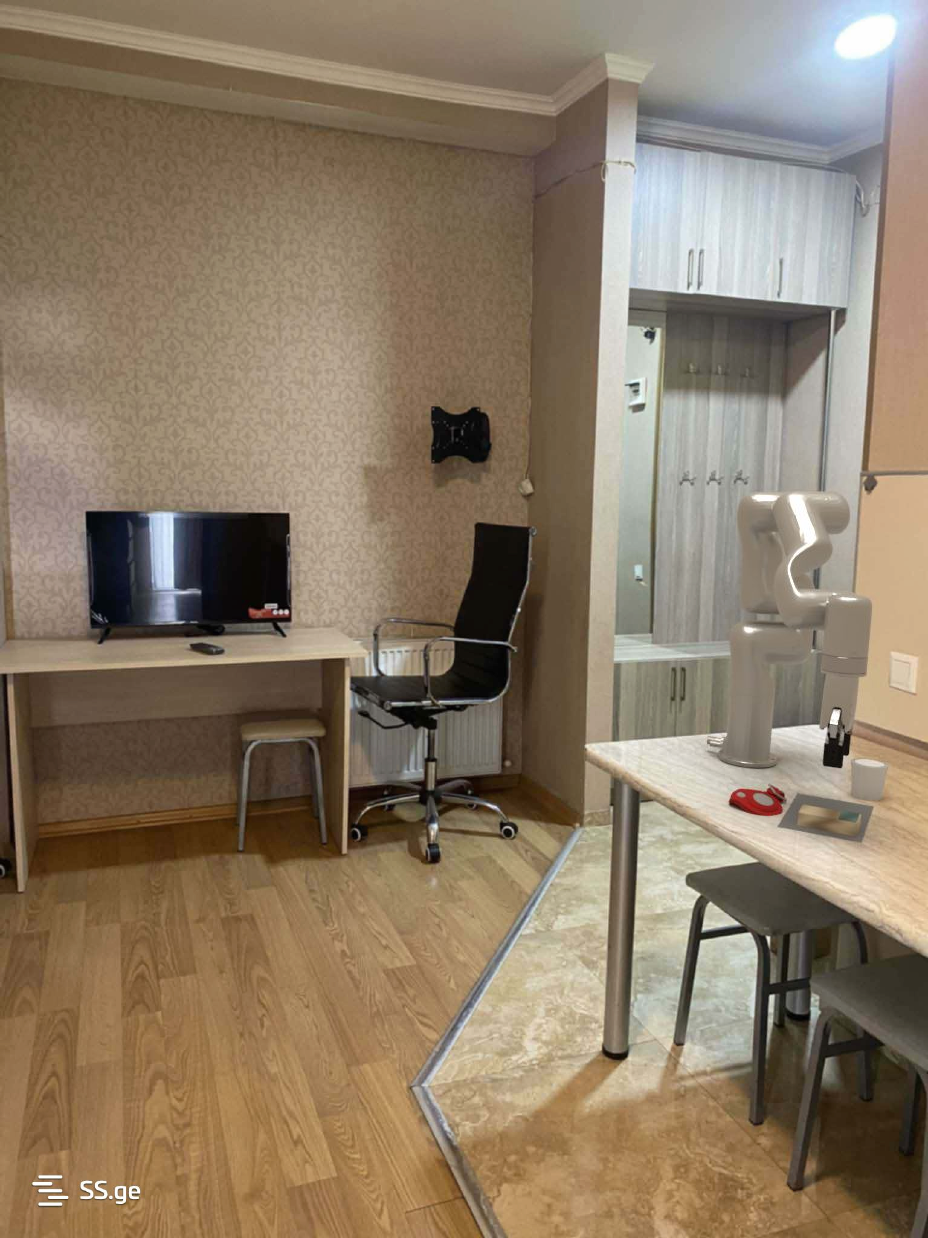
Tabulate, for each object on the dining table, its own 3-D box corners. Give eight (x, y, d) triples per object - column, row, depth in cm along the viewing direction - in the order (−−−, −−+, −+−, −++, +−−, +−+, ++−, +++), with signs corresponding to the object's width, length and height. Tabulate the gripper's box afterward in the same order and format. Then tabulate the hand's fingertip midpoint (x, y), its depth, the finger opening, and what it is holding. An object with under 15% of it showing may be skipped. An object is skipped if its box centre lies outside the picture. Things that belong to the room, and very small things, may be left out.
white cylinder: (881, 804, 187) (885, 769, 186) (844, 797, 191) (848, 763, 190) (887, 795, 193) (890, 761, 192) (851, 788, 197) (854, 755, 196)
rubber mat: (777, 829, 171) (777, 826, 171) (797, 796, 190) (797, 793, 190) (861, 845, 165) (861, 842, 165) (873, 809, 184) (873, 806, 184)
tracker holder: (783, 818, 175) (730, 797, 178) (776, 837, 177) (723, 816, 180) (791, 785, 185) (740, 766, 188) (784, 804, 187) (734, 785, 190)
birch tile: (797, 825, 172) (798, 811, 171) (801, 817, 176) (802, 803, 176) (856, 836, 167) (858, 822, 167) (859, 828, 172) (861, 813, 171)
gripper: (827, 656, 177) (820, 747, 179) (814, 669, 161) (806, 768, 164) (871, 661, 173) (863, 753, 175) (861, 674, 158) (853, 775, 160)
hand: (836, 760), depth 169 cm, fingers open, 9 cm apart
